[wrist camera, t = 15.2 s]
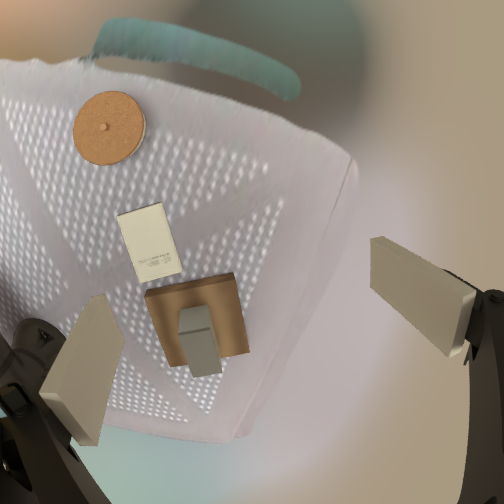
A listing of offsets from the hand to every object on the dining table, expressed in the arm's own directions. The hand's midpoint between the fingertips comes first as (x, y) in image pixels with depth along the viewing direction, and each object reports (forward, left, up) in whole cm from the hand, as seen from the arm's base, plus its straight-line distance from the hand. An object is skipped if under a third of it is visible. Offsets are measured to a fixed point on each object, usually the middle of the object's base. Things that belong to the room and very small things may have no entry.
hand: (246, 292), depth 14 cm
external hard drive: (-12, -7, -38) cm, 40 cm away
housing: (-7, -23, -34) cm, 41 cm away
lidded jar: (-13, +13, -37) cm, 41 cm away
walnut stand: (-7, -23, -37) cm, 44 cm away
